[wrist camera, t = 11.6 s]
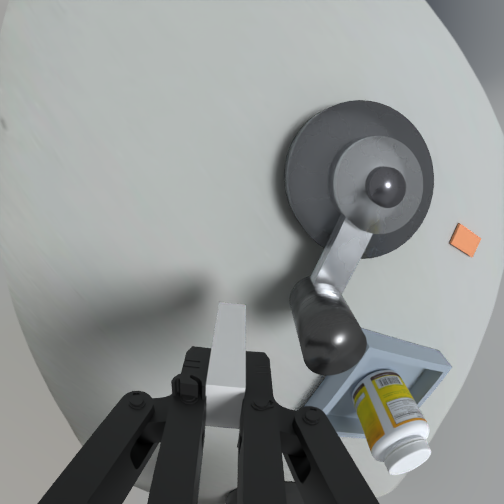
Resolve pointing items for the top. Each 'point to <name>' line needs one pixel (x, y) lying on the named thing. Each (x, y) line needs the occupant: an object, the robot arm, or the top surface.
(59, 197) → the top surface
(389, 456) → the supplement bottle
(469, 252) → the orange flat block
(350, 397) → the tray
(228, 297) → the top surface
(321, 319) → the crank
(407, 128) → the crank housing
